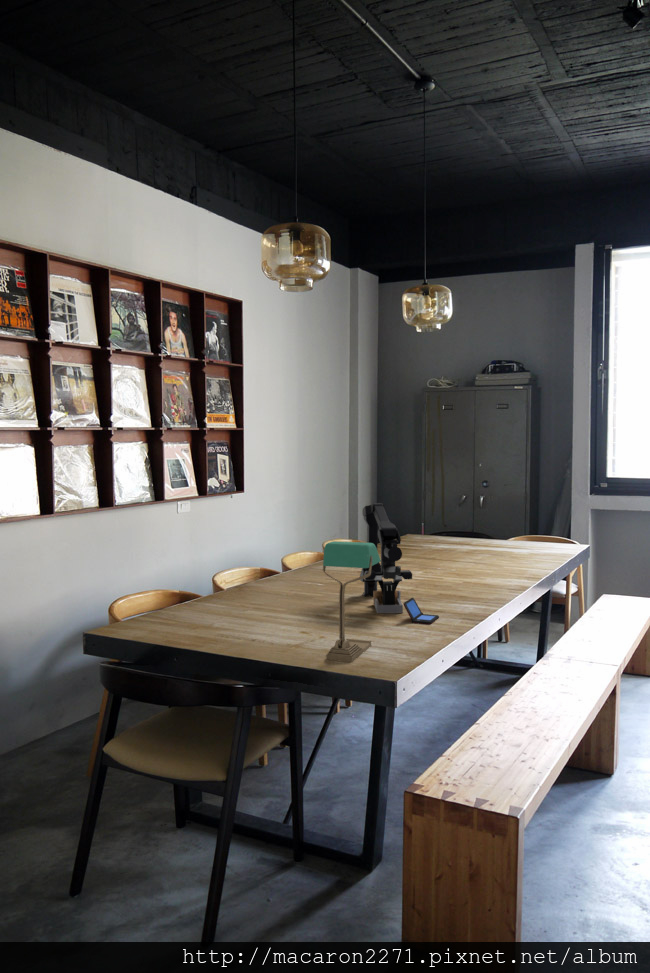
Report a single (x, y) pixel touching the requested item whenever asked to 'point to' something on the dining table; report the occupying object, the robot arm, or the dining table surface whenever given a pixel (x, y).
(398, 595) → the rectangular wooden block
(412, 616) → the handheld game console
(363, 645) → the banker's lamp
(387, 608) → the grey shallow open box
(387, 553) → the robot arm
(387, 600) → the electronic device
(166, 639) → the dining table surface
